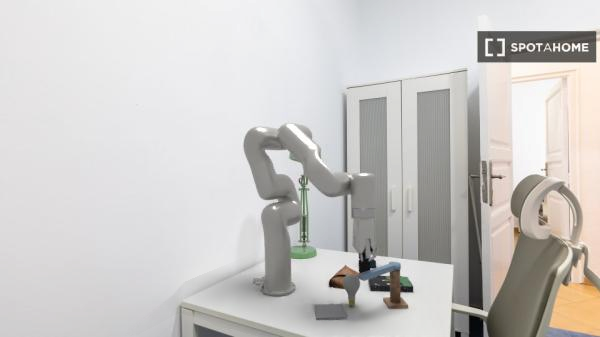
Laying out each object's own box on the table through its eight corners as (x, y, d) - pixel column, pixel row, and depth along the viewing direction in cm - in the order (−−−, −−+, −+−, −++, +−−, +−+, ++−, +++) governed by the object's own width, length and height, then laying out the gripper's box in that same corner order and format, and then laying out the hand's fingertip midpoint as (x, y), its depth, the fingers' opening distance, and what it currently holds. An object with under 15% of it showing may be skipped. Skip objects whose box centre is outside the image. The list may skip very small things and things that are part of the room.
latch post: (389, 308, 97) (388, 272, 97) (383, 300, 103) (382, 266, 103) (408, 308, 97) (407, 272, 97) (401, 300, 103) (400, 266, 103)
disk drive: (370, 293, 111) (414, 294, 109) (370, 285, 111) (413, 286, 109) (368, 282, 121) (407, 282, 119) (367, 275, 121) (407, 275, 119)
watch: (358, 264, 141) (358, 240, 140) (376, 264, 141) (375, 239, 141) (361, 268, 135) (361, 243, 135) (380, 268, 135) (379, 242, 135)
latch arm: (366, 281, 89) (366, 276, 89) (356, 278, 92) (356, 272, 92) (403, 268, 100) (402, 263, 100) (393, 265, 102) (393, 261, 102)
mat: (316, 319, 91) (316, 318, 91) (314, 306, 100) (314, 304, 100) (347, 318, 91) (347, 317, 91) (342, 305, 100) (342, 303, 100)
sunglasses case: (350, 290, 112) (341, 273, 113) (335, 297, 114) (325, 280, 116) (363, 274, 128) (354, 259, 129) (349, 281, 131) (340, 266, 132)
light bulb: (358, 301, 102) (357, 271, 102) (362, 309, 97) (361, 277, 97) (341, 302, 102) (341, 271, 102) (344, 309, 97) (344, 277, 97)
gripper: (346, 210, 103) (347, 266, 103) (356, 217, 88) (357, 282, 88) (369, 209, 103) (370, 265, 103) (383, 217, 88) (384, 282, 88)
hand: (364, 273), depth 95 cm, fingers closed
